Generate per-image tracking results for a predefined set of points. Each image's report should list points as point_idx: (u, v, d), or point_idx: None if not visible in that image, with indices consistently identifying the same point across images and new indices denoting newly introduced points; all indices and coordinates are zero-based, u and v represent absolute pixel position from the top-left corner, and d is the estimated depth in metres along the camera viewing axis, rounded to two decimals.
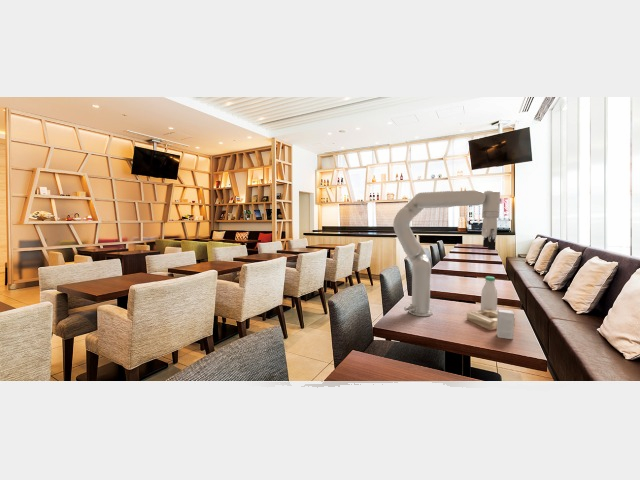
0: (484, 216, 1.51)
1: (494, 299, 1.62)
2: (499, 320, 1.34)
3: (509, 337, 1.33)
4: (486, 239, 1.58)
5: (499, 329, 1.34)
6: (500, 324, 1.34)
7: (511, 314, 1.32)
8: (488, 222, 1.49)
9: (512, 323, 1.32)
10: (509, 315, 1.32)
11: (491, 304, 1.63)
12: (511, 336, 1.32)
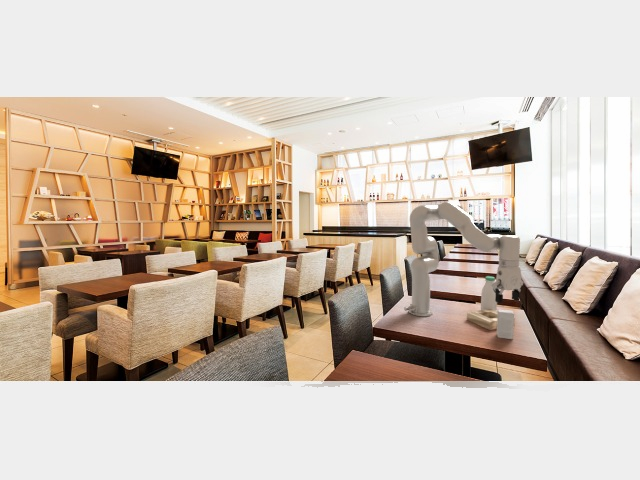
0: (518, 265, 1.29)
1: (494, 299, 1.62)
2: (499, 320, 1.34)
3: (509, 337, 1.33)
4: None
5: (499, 329, 1.34)
6: (500, 324, 1.34)
7: (511, 314, 1.32)
8: None
9: (512, 323, 1.32)
10: (509, 315, 1.32)
11: (491, 304, 1.63)
12: (511, 336, 1.32)
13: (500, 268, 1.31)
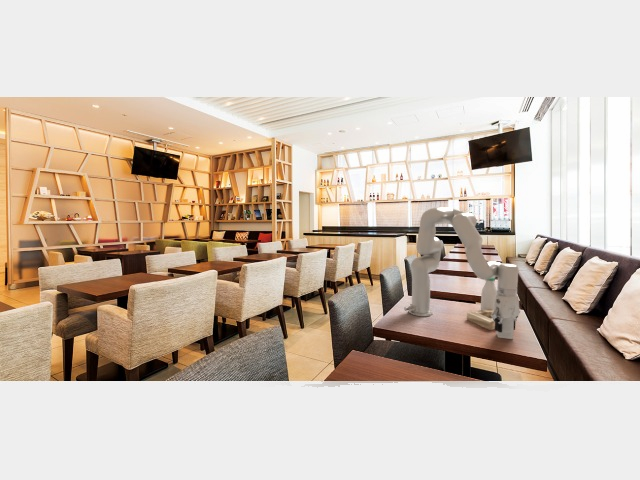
0: (516, 294, 1.31)
1: (494, 299, 1.62)
2: None
3: (509, 337, 1.33)
4: None
5: None
6: None
7: None
8: None
9: (512, 323, 1.32)
10: None
11: (491, 304, 1.63)
12: (511, 336, 1.32)
13: (498, 296, 1.32)
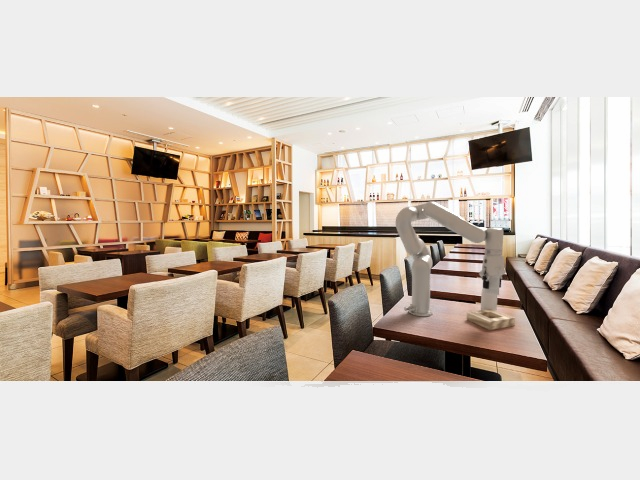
0: None
1: (494, 299, 1.62)
2: None
3: (495, 293, 1.48)
4: None
5: None
6: None
7: None
8: None
9: (498, 280, 1.47)
10: None
11: (491, 304, 1.63)
12: (497, 292, 1.47)
13: (486, 257, 1.47)
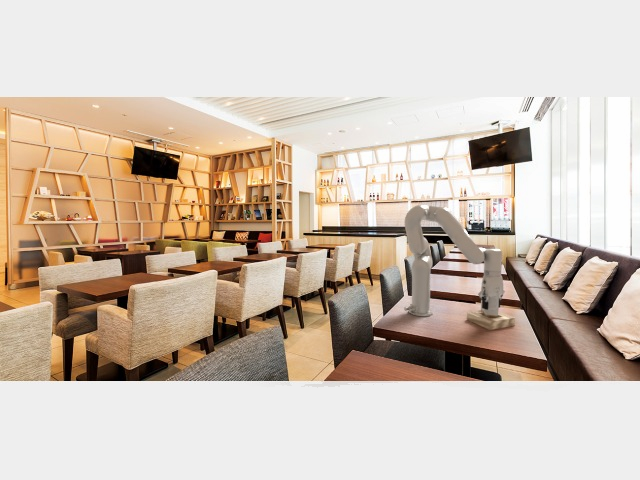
0: (500, 275, 1.47)
1: None
2: None
3: (495, 314, 1.49)
4: None
5: None
6: None
7: None
8: None
9: (497, 301, 1.48)
10: None
11: None
12: (496, 313, 1.48)
13: (485, 277, 1.48)
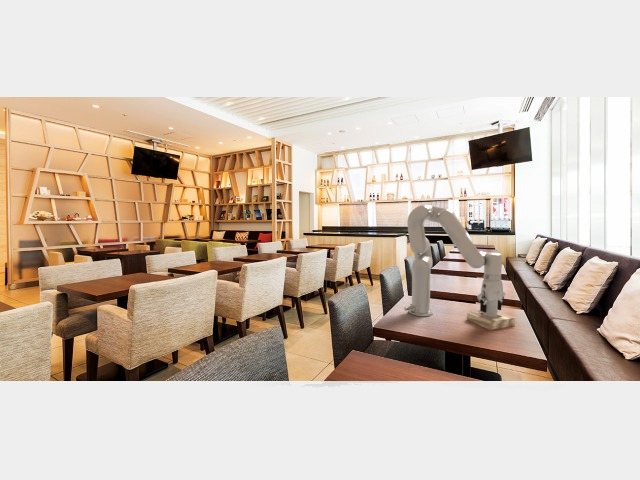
0: (500, 279, 1.47)
1: None
2: None
3: None
4: None
5: (484, 313, 1.51)
6: None
7: (495, 300, 1.48)
8: None
9: (496, 308, 1.48)
10: (493, 301, 1.48)
11: None
12: None
13: (484, 281, 1.49)
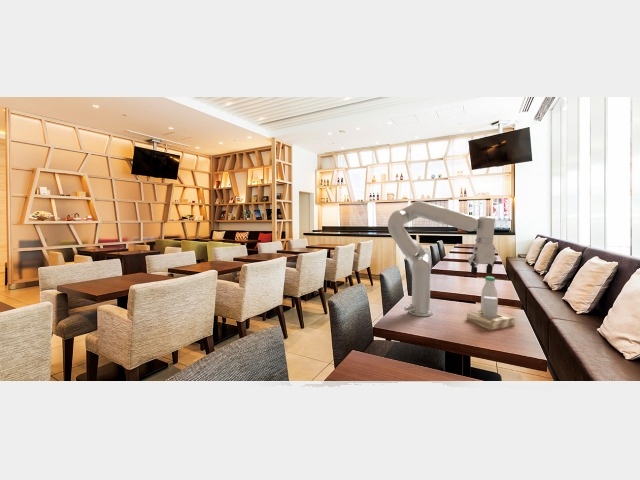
0: (492, 242, 1.49)
1: None
2: (484, 305, 1.50)
3: None
4: None
5: (484, 313, 1.51)
6: (485, 309, 1.50)
7: (495, 300, 1.48)
8: None
9: (496, 308, 1.48)
10: (493, 301, 1.48)
11: None
12: None
13: (476, 244, 1.51)
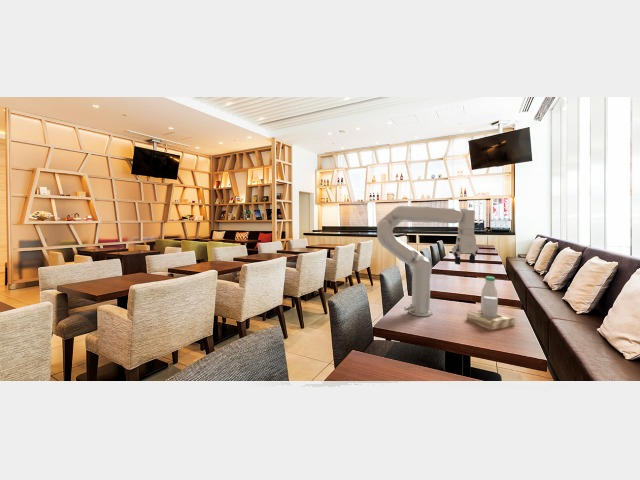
0: (473, 233, 1.57)
1: None
2: (484, 305, 1.50)
3: None
4: None
5: (484, 313, 1.51)
6: (485, 309, 1.50)
7: (495, 300, 1.48)
8: None
9: (496, 308, 1.48)
10: (493, 301, 1.48)
11: None
12: None
13: (458, 235, 1.58)
